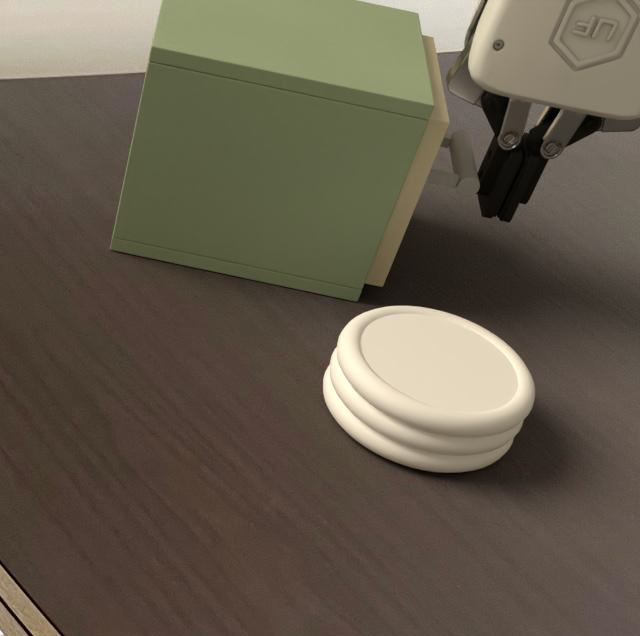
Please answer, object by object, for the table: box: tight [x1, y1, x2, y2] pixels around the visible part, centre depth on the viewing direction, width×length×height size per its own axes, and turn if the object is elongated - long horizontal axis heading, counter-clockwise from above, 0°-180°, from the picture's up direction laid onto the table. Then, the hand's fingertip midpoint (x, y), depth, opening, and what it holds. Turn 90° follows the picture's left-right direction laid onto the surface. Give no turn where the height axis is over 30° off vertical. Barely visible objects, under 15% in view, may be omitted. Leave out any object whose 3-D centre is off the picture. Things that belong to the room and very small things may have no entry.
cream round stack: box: [322, 305, 536, 474], centre depth 59 cm, size 10×10×4 cm
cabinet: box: [109, 0, 434, 303], centre depth 67 cm, size 15×13×12 cm
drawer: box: [364, 34, 480, 288], centre depth 67 cm, size 17×11×10 cm, turn 81°
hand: (493, 208), depth 68 cm, fingers closed
